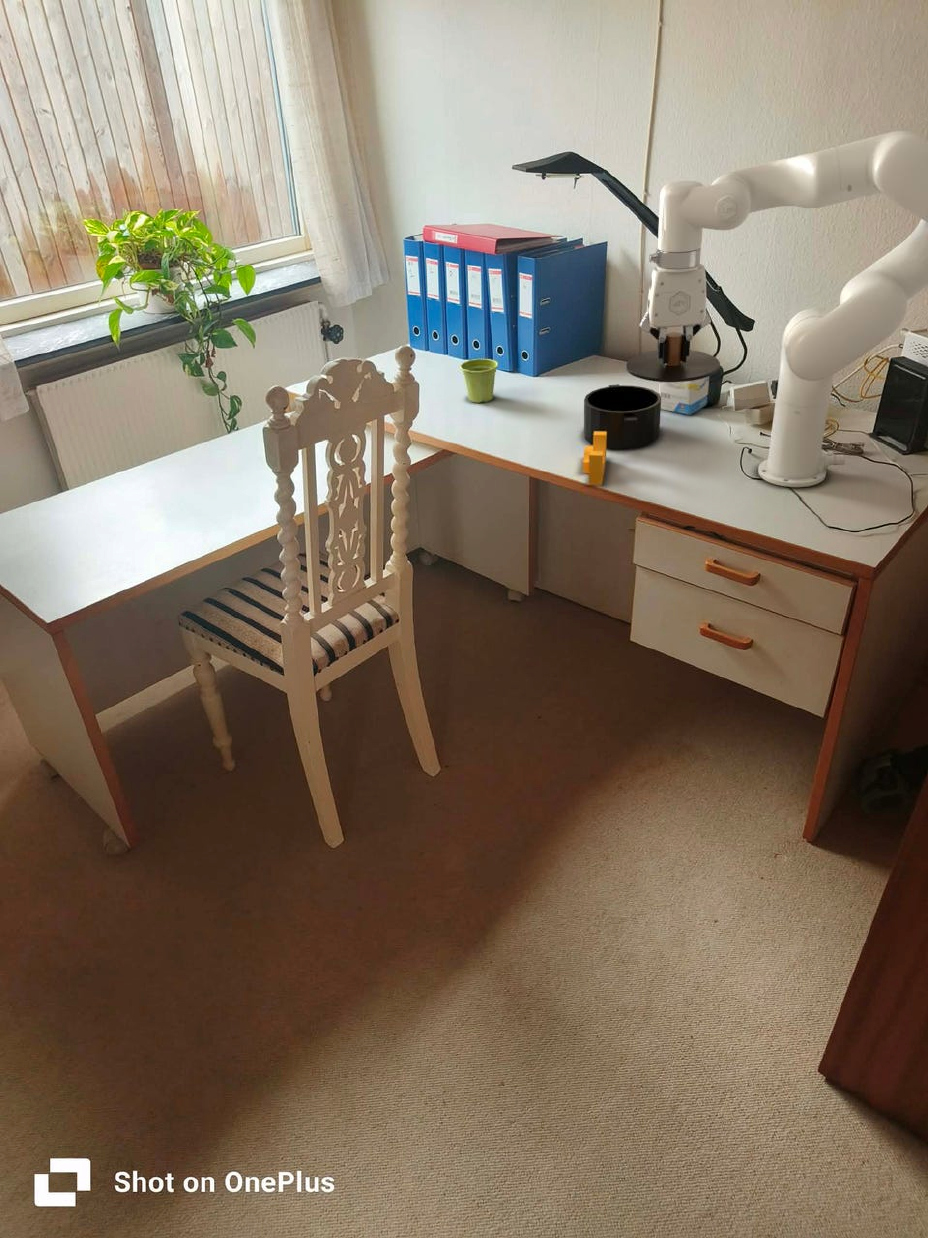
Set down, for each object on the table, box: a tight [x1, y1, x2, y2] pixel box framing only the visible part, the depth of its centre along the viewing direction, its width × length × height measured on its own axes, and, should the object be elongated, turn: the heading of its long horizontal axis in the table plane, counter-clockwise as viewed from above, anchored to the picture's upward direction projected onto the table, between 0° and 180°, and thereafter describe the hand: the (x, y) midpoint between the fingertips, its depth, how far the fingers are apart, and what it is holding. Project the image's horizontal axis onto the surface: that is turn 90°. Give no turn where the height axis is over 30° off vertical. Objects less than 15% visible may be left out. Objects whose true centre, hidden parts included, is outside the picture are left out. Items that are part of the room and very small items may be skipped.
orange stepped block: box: [582, 431, 607, 486], centre depth 178 cm, size 12×4×6 cm, turn 168°
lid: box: [625, 331, 721, 383], centre depth 165 cm, size 17×17×7 cm
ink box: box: [658, 376, 710, 416], centre depth 203 cm, size 9×8×12 cm
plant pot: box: [459, 358, 499, 403], centre depth 217 cm, size 9×9×9 cm
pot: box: [583, 384, 662, 451], centre depth 192 cm, size 16×22×8 cm
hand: (672, 359), depth 166 cm, fingers closed on lid, 3 cm apart
